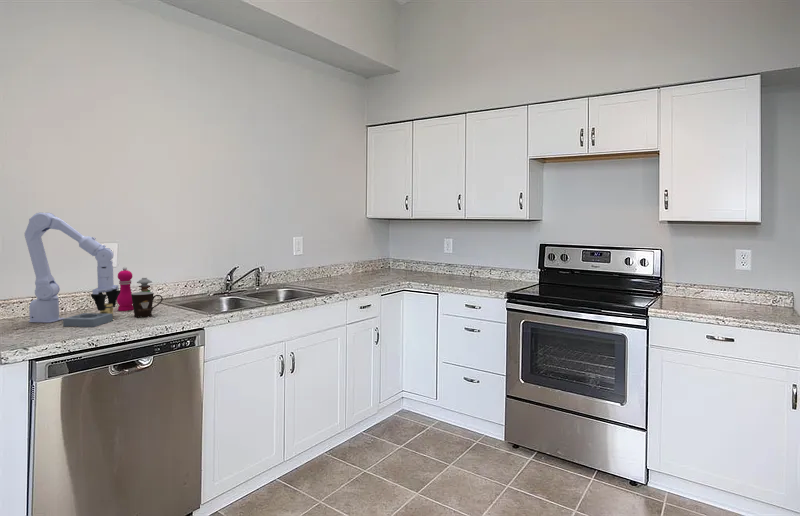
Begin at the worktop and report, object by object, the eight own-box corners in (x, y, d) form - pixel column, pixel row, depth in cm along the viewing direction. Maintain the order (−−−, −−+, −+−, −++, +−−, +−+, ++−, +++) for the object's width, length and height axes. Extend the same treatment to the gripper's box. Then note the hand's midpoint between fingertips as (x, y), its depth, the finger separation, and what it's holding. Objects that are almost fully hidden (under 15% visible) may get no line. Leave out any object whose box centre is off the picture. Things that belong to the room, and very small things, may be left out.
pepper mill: (130, 307, 230) (129, 265, 228) (137, 309, 225) (136, 267, 224) (114, 309, 224) (113, 266, 223) (120, 311, 220) (119, 267, 218)
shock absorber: (147, 308, 229) (146, 276, 228) (155, 309, 226) (155, 277, 225) (134, 310, 223) (133, 278, 222) (143, 311, 220) (142, 279, 219)
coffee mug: (129, 318, 206) (128, 294, 205) (134, 314, 214) (134, 292, 213) (159, 317, 209) (158, 294, 208) (163, 313, 217) (163, 291, 216)
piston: (97, 319, 203) (96, 304, 203) (104, 316, 208) (104, 302, 208) (108, 319, 203) (108, 305, 203) (116, 317, 208) (115, 303, 208)
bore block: (63, 326, 188) (63, 318, 188) (84, 320, 200) (83, 313, 200) (93, 327, 188) (93, 319, 188) (112, 320, 200) (112, 313, 200)
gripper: (103, 279, 197) (105, 312, 198) (124, 275, 212) (126, 305, 213) (86, 278, 197) (88, 311, 198) (109, 275, 212) (110, 305, 213)
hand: (106, 308), depth 205 cm, fingers open, 7 cm apart
